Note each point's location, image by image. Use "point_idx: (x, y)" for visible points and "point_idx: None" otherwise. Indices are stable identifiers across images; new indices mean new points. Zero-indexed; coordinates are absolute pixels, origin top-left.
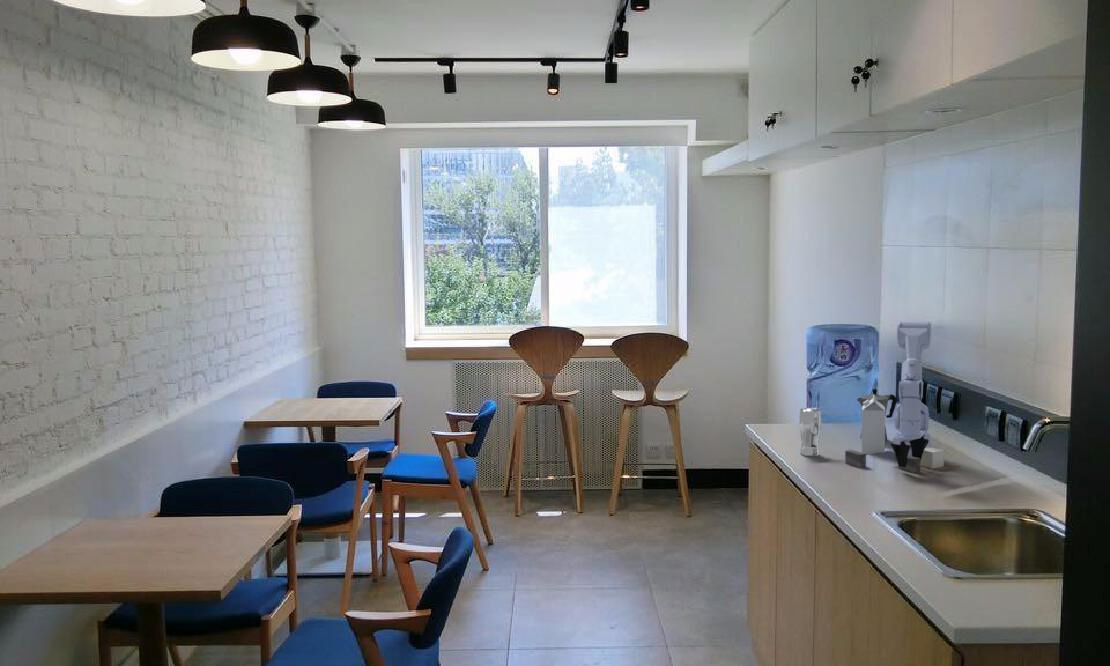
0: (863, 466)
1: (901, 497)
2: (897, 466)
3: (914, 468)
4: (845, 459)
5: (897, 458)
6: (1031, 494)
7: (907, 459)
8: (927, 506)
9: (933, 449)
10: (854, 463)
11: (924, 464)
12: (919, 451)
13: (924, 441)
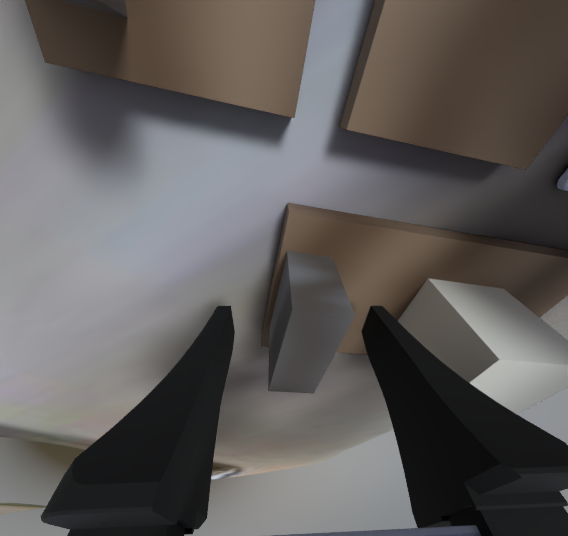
0: (87, 6)
1: (32, 384)
2: (328, 224)
3: (269, 344)
4: None
5: (197, 345)
6: (321, 451)
7: (277, 349)
8: (61, 425)
9: (513, 397)
10: None
11: (413, 313)
12: (391, 397)
13: (416, 518)
